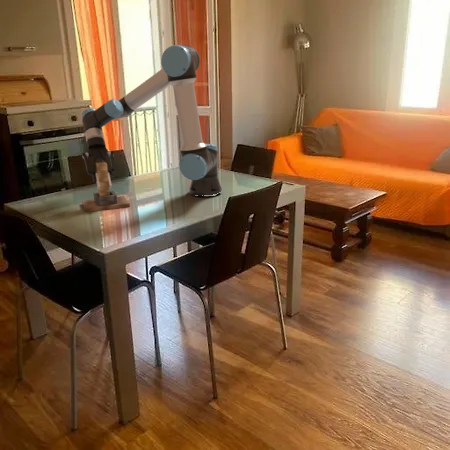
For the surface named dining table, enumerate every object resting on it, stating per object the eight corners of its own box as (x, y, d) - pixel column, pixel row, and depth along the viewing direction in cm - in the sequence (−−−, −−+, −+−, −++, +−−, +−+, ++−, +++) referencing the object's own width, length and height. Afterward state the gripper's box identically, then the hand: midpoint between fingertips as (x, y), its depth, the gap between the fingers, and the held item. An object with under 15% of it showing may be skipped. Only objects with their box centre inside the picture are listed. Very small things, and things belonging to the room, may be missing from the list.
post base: (124, 199, 204) (123, 188, 202) (129, 206, 193) (128, 195, 192) (82, 203, 197) (81, 192, 195) (85, 212, 187) (84, 200, 185)
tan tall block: (108, 194, 196) (105, 162, 192) (109, 196, 193) (107, 164, 188) (98, 195, 195) (95, 162, 190) (100, 197, 191) (97, 164, 187)
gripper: (114, 144, 204) (124, 189, 195) (75, 147, 198) (83, 194, 189) (115, 134, 197) (126, 180, 189) (74, 137, 191) (83, 184, 183)
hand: (104, 187), depth 189 cm, fingers closed on tan tall block, 4 cm apart
